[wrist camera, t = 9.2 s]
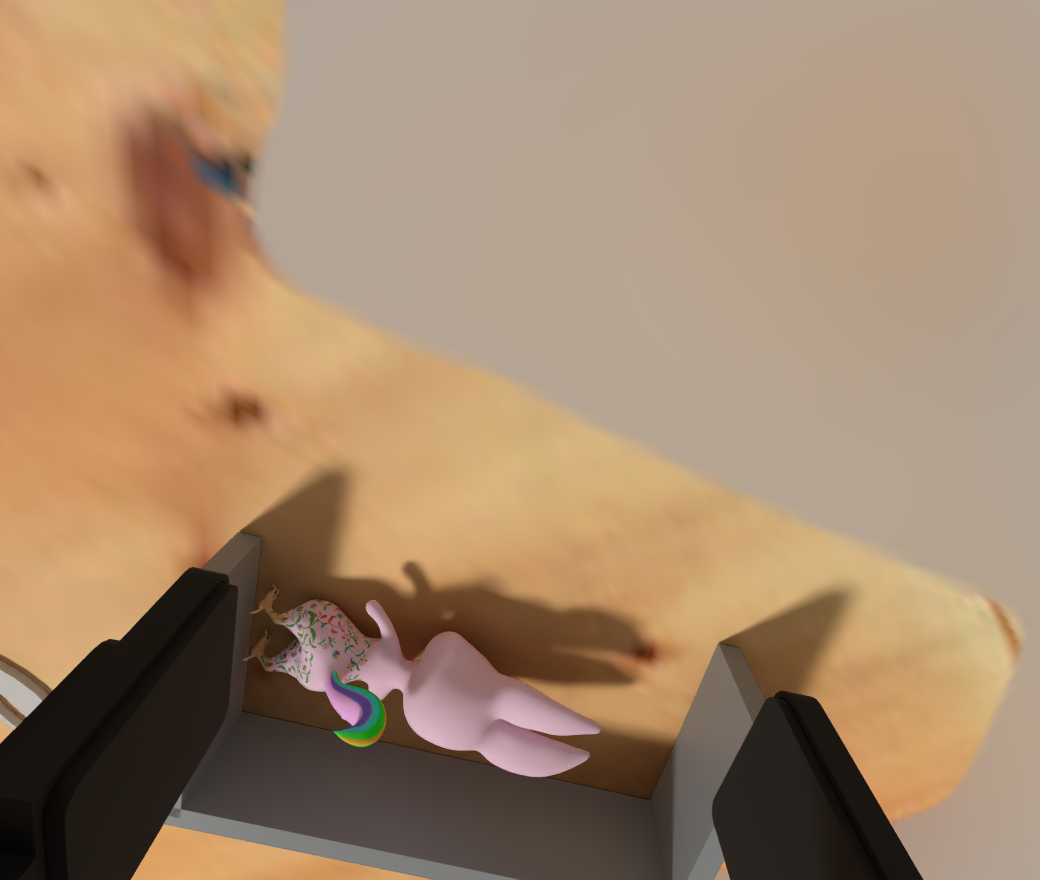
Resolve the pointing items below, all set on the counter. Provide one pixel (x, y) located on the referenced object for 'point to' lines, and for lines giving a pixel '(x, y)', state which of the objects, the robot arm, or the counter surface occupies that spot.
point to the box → (459, 789)
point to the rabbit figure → (423, 690)
